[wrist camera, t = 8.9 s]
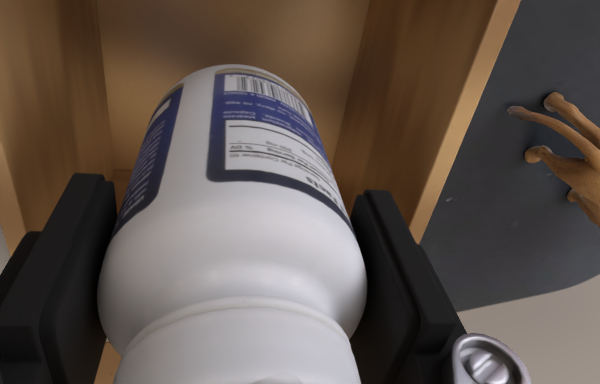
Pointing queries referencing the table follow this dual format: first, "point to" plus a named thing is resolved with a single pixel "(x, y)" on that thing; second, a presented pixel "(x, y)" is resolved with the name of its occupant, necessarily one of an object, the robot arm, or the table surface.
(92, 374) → the robot arm
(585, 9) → the table surface
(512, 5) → the case box
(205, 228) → the pill bottle
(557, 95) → the lion figurine
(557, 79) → the table surface
